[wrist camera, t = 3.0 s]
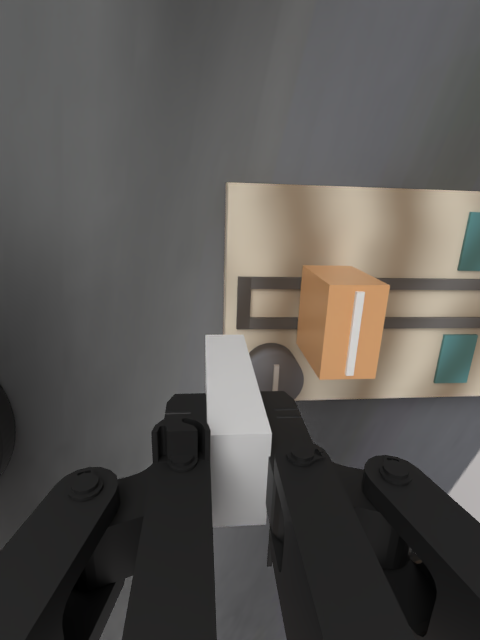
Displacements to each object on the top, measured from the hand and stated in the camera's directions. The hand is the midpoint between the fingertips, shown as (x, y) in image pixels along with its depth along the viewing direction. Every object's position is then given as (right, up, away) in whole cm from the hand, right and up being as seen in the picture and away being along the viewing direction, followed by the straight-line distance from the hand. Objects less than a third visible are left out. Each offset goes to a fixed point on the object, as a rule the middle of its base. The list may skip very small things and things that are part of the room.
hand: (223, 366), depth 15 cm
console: (+10, +4, +11) cm, 15 cm away
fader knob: (+6, +3, +9) cm, 11 cm away
